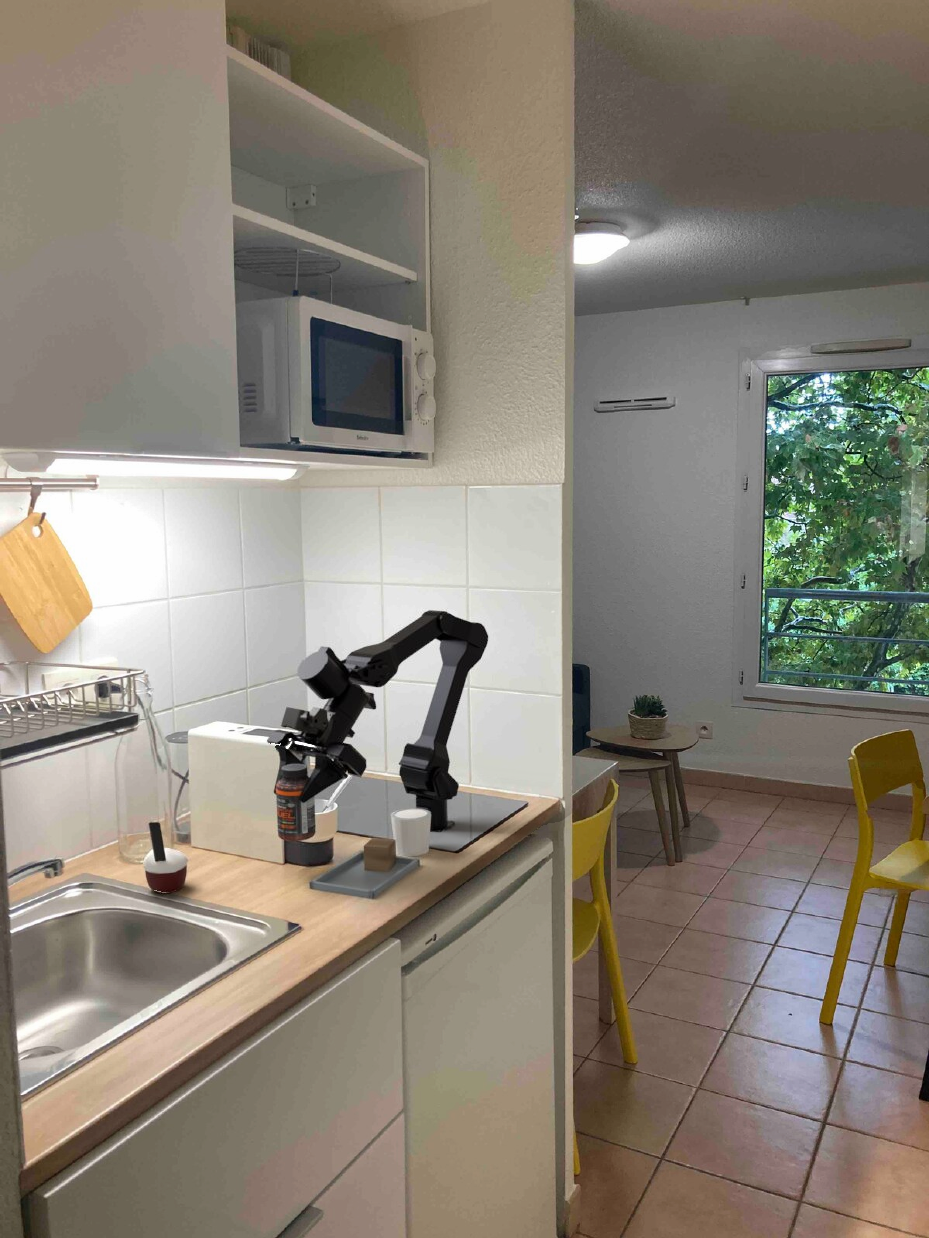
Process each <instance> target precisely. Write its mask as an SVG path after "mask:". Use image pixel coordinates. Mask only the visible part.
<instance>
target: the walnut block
mask: <svg viewBox="0 0 929 1238" xmlns="http://www.w3.org/2000/svg"><path fill="white" fill-rule="evenodd" d="M363 851H364V870H367V871H379V872H389V871H390V870H391V869H392V868H393V866H394V865H395V864H396V856H397V853H396V840H395V839H394V838H379V837H372V838H371V839H370V840H368V841H367V842H366V843H365V844H364V845H363Z"/></svg>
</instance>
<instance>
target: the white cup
mask: <svg viewBox="0 0 929 1238" xmlns="http://www.w3.org/2000/svg"><path fill="white" fill-rule="evenodd" d="M390 820H391V828H392V836H393V837H392V839H395V840H396V855H397V856H402V857H417V856H423V855H425V854H427V853H428V852H429V851H430V838H431V837H430V836H431V831H430V824H431V812H430V811H428V810H425V809H418V808H416V807H413V808H412V807H411V808H401V809H397V810H395V811H393V812H391V813H390Z"/></svg>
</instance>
